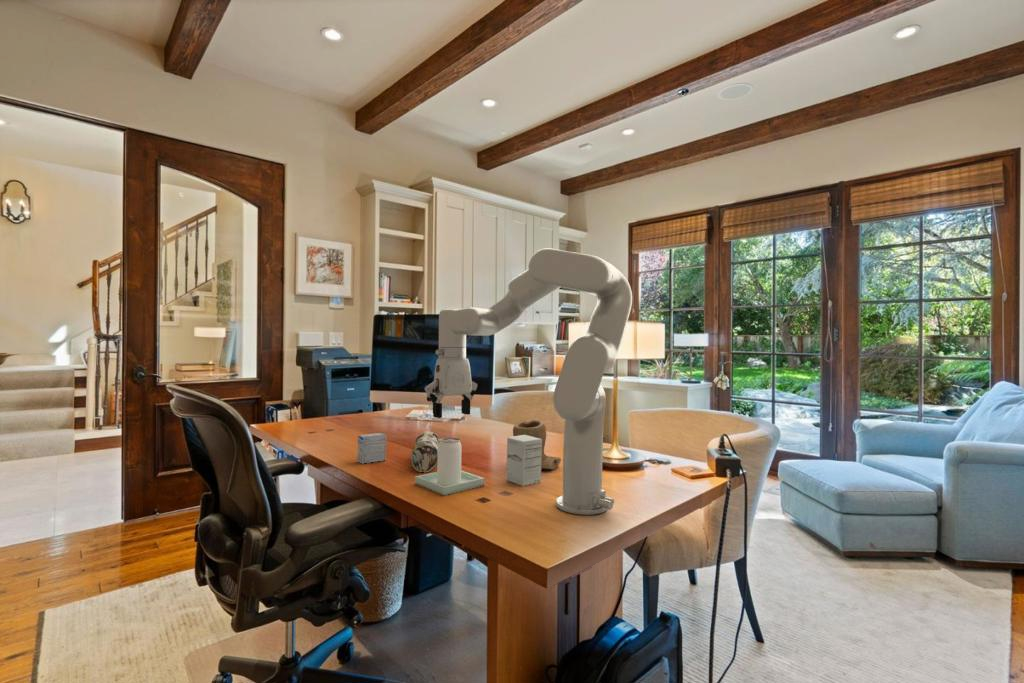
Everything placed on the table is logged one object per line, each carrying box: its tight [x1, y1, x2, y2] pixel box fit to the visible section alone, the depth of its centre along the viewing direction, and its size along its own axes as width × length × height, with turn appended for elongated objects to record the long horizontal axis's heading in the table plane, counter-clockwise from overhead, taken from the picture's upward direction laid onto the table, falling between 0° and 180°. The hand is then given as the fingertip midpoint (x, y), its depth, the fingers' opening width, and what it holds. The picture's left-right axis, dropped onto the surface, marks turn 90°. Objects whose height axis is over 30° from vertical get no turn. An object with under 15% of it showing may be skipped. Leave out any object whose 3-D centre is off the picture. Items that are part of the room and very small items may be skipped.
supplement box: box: [505, 435, 542, 487], centre depth 139 cm, size 7×7×13 cm
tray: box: [414, 469, 486, 497], centre depth 134 cm, size 14×14×2 cm
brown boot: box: [512, 419, 562, 470], centre depth 154 cm, size 15×12×15 cm
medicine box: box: [357, 432, 387, 465], centre depth 158 cm, size 8×4×9 cm, turn 130°
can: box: [436, 437, 463, 486], centre depth 134 cm, size 6×6×12 cm
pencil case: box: [410, 429, 441, 474], centre depth 156 cm, size 22×8×10 cm, turn 7°
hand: (451, 415), depth 134 cm, fingers open, 9 cm apart
